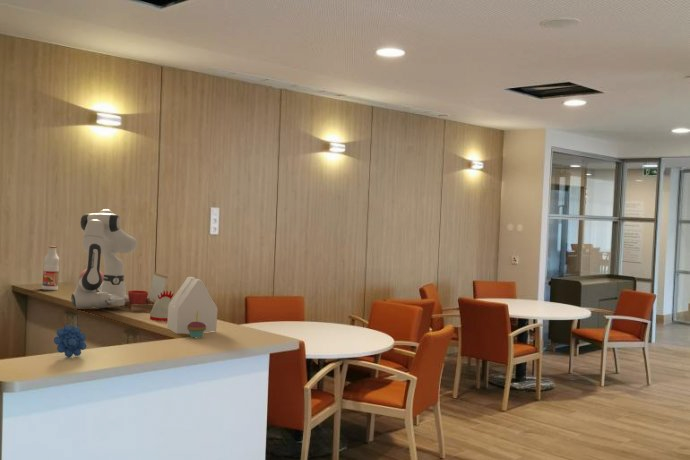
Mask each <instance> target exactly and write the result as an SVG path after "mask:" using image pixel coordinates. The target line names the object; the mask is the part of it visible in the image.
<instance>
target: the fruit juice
mask: <svg viewBox="0 0 690 460" xmlns="http://www.w3.org/2000/svg"><path fill="white" fill-rule="evenodd" d="M57 249H58V247H57V246H56V245H48V251H47V254H46V255H45V257H44V260H43V262H44V266H43V268H42V269H43V270H42V271H43V272H42V284H41V285H42V286H41V288H42V290H45V291H56V290H58V289H59V277H60V266H59V264H60V257H59V255H58V253H57Z"/></svg>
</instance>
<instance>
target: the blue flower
mask: <svg viewBox="0 0 690 460" xmlns="http://www.w3.org/2000/svg"><path fill="white" fill-rule="evenodd" d="M56 335H57V336H55V337H54V338H53V343H54V344H55V345H57V347H56V350H57V352H58V353H59V354H60V353H61V354H63V353H64V356H66V357H67V358H70V357H73V355H74V356H77V357H78V356H81V354H82V351H84V350H86V348H87V344H86V342H85V341H86V340H87V336H86V334H85V333H81V329H80V327H79V326H74V327H72V326H71V325H70V324H65V325H64V327H63V328H58V329H57V330H56Z"/></svg>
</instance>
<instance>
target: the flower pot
mask: <svg viewBox="0 0 690 460" xmlns="http://www.w3.org/2000/svg"><path fill="white" fill-rule="evenodd" d="M127 294H128V295H127V296H128V298H129V299H130V300H129V305H130V306H129V309H130V310H131V304H146V300H147V298H148V297H149V291H145V290H128V292H127Z"/></svg>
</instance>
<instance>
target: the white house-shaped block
mask: <svg viewBox="0 0 690 460" xmlns="http://www.w3.org/2000/svg"><path fill="white" fill-rule="evenodd" d="M218 310H219V309H218V306H217V305H216V303H215V301H214V300H213V298H212V296H211V294H210V292H209V290H208V289H207V287H206V285H205V283H204V281H203V280H202V279H199V278H196V277H194V276H187V277H186V279H185V280H184V282H183V283H182V285H181V286H180V287H179V289H178V290H177V292H175V294H174V295H173V296H172V298H171V302H170V303H169V306H168V321H166V329H168V330H170V331H172V332H173V333H175V334H177V335H178V334H180V335H181V334H190V332H189V330H188V329H187V327H188V325H189V323H191V322H196V312H198V322H201V323H204V324H205V325H206V330H204V332H210V331H215V332H216V333H217V324H218V323H217V322H218V312H219V311H218Z"/></svg>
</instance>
